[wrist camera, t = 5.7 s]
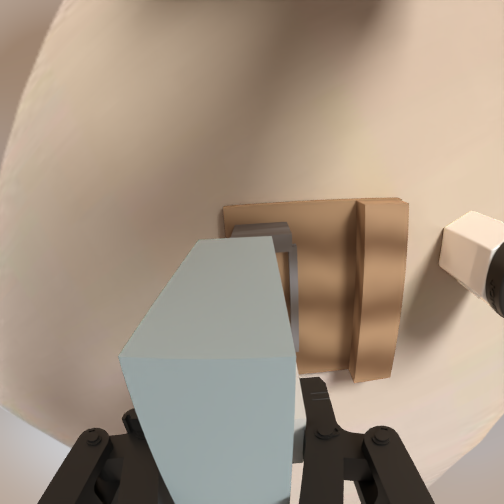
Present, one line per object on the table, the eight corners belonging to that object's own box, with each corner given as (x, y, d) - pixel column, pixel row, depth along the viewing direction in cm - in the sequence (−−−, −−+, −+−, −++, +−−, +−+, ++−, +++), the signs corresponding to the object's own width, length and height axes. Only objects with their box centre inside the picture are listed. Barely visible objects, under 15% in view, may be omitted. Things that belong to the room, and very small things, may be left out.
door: (178, 240, 16) (77, 352, 6) (271, 235, 15) (296, 355, 6) (206, 422, 19) (183, 556, 9) (276, 421, 19) (284, 559, 9)
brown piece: (224, 206, 32) (216, 217, 26) (396, 197, 31) (423, 207, 25) (241, 371, 38) (238, 405, 32) (383, 358, 37) (399, 388, 31)
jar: (424, 256, 33) (483, 300, 22) (460, 198, 31) (529, 220, 19) (466, 290, 34) (521, 335, 23) (498, 238, 32) (561, 269, 21)
